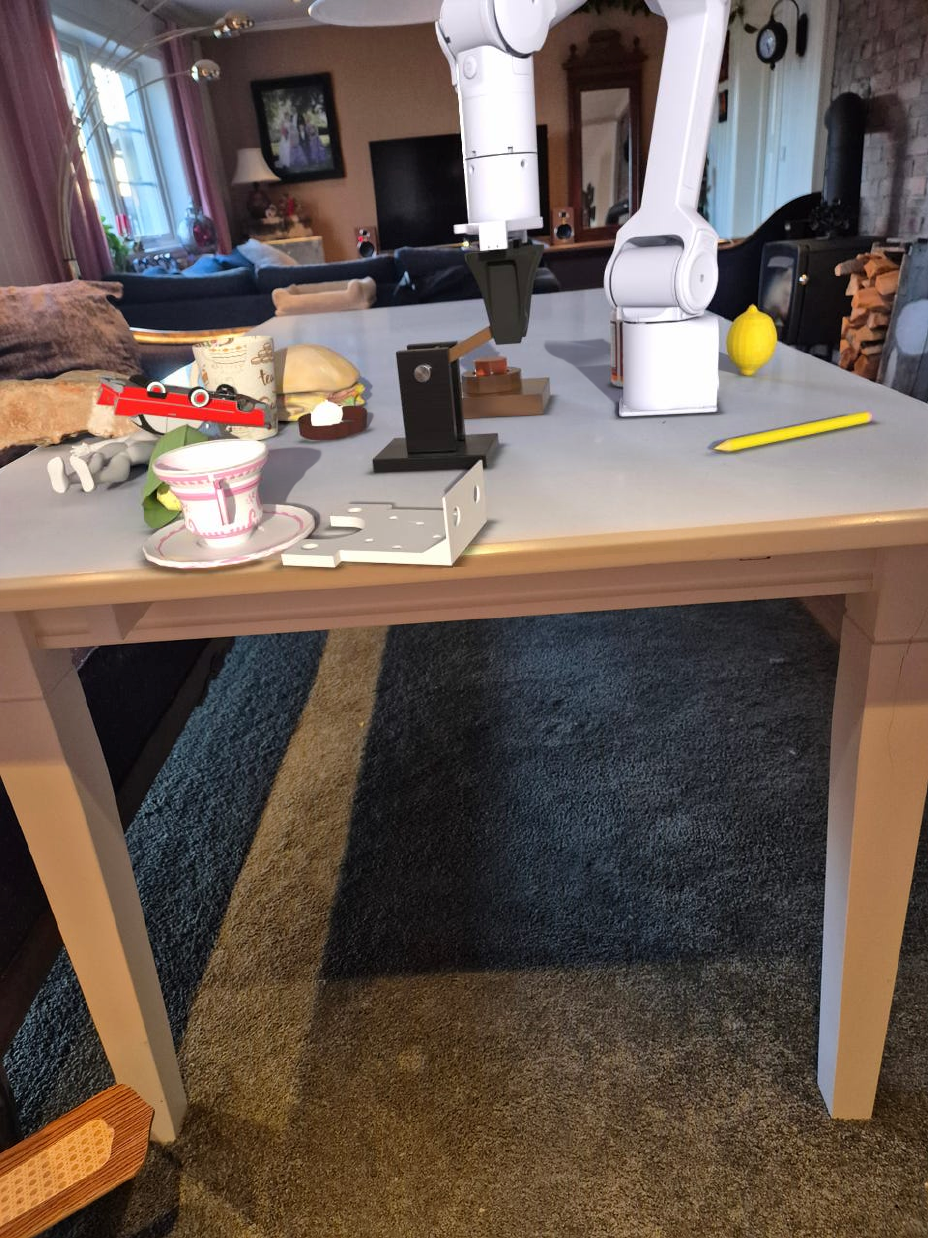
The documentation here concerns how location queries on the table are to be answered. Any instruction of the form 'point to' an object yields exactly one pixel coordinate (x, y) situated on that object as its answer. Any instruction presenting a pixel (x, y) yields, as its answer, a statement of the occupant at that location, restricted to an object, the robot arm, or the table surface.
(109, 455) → the character figure
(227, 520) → the teacup
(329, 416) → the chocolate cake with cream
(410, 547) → the bracket
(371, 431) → the table surface
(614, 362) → the pill bottle
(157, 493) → the edible corn
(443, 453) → the lever stand
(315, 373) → the burger
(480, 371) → the press button
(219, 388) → the toy car
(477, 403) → the button block
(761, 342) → the fruit
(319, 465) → the table surface
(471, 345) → the lever
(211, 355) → the mug
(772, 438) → the pencil
